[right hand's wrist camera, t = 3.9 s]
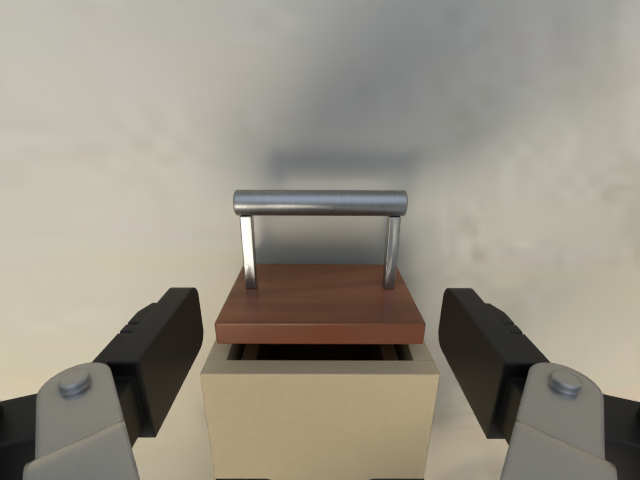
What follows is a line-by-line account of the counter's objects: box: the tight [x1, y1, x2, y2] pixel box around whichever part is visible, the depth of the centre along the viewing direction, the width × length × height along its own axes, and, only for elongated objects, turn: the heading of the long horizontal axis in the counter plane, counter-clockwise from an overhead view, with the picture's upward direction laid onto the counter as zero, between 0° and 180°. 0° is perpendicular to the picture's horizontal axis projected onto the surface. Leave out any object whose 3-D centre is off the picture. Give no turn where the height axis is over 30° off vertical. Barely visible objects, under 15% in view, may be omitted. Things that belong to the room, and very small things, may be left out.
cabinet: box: [200, 339, 440, 480], centre depth 23 cm, size 16×11×9 cm
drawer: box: [215, 190, 426, 361], centre depth 21 cm, size 20×10×7 cm, turn 0°
